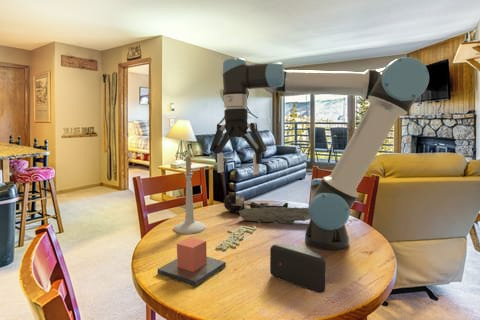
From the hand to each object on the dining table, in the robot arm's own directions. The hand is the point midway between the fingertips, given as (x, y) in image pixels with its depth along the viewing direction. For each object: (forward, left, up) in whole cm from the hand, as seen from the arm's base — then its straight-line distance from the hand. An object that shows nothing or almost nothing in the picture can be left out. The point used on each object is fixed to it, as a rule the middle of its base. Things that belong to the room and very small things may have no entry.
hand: (238, 173), depth 106 cm
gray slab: (+3, +21, -26) cm, 33 cm away
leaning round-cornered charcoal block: (-26, +12, -27) cm, 39 cm away
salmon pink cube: (+3, +21, -25) cm, 32 cm away
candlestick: (+28, -7, -26) cm, 39 cm away
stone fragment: (+2, -33, -27) cm, 42 cm away
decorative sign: (+7, -8, -27) cm, 29 cm away
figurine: (+16, -39, -27) cm, 50 cm away
